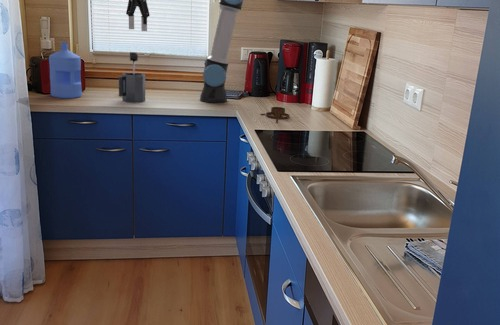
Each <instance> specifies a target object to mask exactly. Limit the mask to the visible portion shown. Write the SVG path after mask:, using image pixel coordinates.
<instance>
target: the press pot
mask: <svg viewBox="0 0 500 325" xmlns="http://www.w3.org/2000/svg"><path fill="white" fill-rule="evenodd" d="M118 96H119V97H121V98H122V102H125V103H131V104H132V103H133V104H139V103H144V102H146V74H144V73H139V72H135V76H133V72H124V73H122V74H121V76H118Z"/></svg>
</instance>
